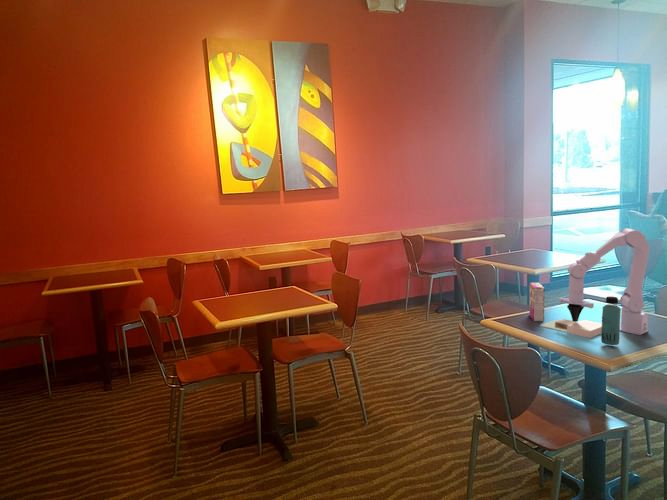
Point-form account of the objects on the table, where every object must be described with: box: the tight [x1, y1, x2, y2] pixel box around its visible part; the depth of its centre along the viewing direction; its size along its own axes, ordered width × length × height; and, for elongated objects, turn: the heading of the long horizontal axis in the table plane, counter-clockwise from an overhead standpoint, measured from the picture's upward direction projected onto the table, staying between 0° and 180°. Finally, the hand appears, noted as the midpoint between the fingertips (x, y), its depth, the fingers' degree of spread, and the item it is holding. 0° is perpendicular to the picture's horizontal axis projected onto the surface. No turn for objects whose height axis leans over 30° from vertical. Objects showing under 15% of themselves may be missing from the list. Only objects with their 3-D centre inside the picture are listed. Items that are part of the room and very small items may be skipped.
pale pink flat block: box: [566, 319, 602, 339], centre depth 211 cm, size 10×14×3 cm
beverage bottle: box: [600, 296, 622, 346], centre depth 191 cm, size 6×7×20 cm
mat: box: [539, 319, 567, 333], centre depth 221 cm, size 12×14×1 cm
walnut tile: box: [555, 318, 578, 329], centre depth 218 cm, size 7×7×2 cm
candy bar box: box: [528, 282, 545, 322], centre depth 233 cm, size 11×5×16 cm, turn 168°
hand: (575, 321), depth 215 cm, fingers closed
